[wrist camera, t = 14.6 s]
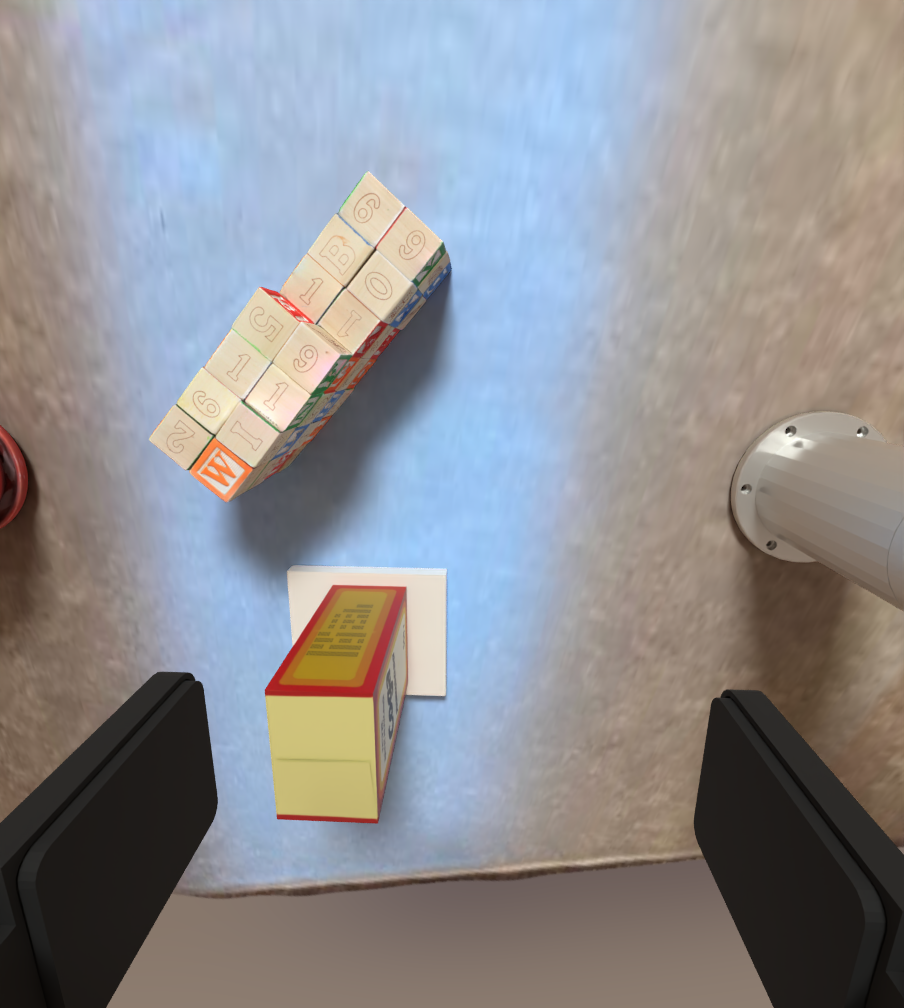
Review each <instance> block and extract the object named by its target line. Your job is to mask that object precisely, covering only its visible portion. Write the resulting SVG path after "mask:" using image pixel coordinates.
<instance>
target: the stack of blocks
mask: <svg viewBox="0 0 904 1008" xmlns="http://www.w3.org/2000/svg"><path fill="white" fill-rule="evenodd" d="M451 269H452V268H451V263H450V258H449V255H448V252H447V251H446V248H445V246H444V243H443V241H442V240H441V239H440V238H439V237H437V236H436V235H435V234H434V233H433V232H432V231H431V230H430V229H429V228H428V227H427V226H426V225H425V224H424V223H423V222H422V221H421V220H420V219H419V218H418V217H417V216H416V215H415V214H413V213H412V212H411V211H410V210H409V209H408V208H406V207H405V206H404V205H403V204H402V203H401V202H400V201H399V200H398V199H397V198H396V197H395V196H394V195H393V194H392V193H391V192H390V191H389V190H388V189H386V188H385V187H384V186H383V185H382V184H381V183H380V182H379V181H378V180H377V179H376V178H375V177H374V176H373V175H372V174H371V173H370V172H369V171H367V172H366V173H365V174H364V175H363V177H362V178H361V180H360V181H359V183H358V184H357V185H356V187H355V188H354V190H353V191H352V192H351V194H350V195H349V196H348V198H347V199H346V201H345V202H344V204H343V205H342V207H341V208H340V210H339V212H338V213H337V214H335V215H334V216H333V217H332V219H331V220H330V221H329V223H328V224H327V226H326V227H325V228H324V230H323V231H322V233H321V234H320V235H319V237H318V238H317V240H316V241H315V242H314V244H313V245H312V246H311V248H310V249H309V251H308V253H307V254H306V255H305V256H304V257H303V258H302V260H301V261H300V262H299V264H298V265H297V267H296V268H295V269H294V271H293V272H292V274H291V275H290V277H289V278H288V280H287V281H286V282H285V284H284V285H283V287H282V289H281V291H280V294H279V293H278V292H276V291H272V290H269V289H266V288H263V287H259V288H258V289H257V291H256V292H255V294H254V295H253V296H252V298H251V299H250V301H249V302H248V304H247V305H246V307H245V308H244V309H243V311H242V312H241V314H240V315H239V316H238V318H237V319H236V321H235V322H234V323H233V325H232V329H231V330H230V332H229V333H228V334H227V335H226V337H225V338H224V339H223V341H222V342H221V344H220V345H219V347H218V348H217V350H216V351H215V352H214V354H213V355H212V356H211V358H210V359H209V361H208V362H207V364H206V366H205V367H202V368H201V369H200V371H199V372H198V373H197V375H196V376H195V377H194V379H193V380H192V382H191V383H190V384H189V386H188V387H187V389H186V390H185V391H184V393H183V394H182V395H181V397H180V398H179V400H178V401H177V404H176V405H174V406H173V407H172V408H171V409H170V411H169V412H168V413H167V415H166V416H165V417H164V419H163V420H162V421H161V423H160V424H159V425H158V427H157V428H156V429H155V431H154V432H153V434H152V435H151V436H150V438H149V440H150V442H152V443H153V444H154V445H155V446H157V447H158V448H159V449H160V450H161V451H163V452H164V453H165V454H166V455H168V456H169V457H170V458H171V459H172V460H174V461H175V462H176V463H177V464H178V465H179V466H181V467H182V468H183V469H184V470H190V471H189V472H190V474H191V475H192V476H193V477H194V478H196V479H197V480H198V481H200V482H201V483H202V484H203V485H204V486H206V487H207V488H208V489H209V490H211V491H212V492H213V493H215V494H216V495H217V496H218V497H220V498H221V499H222V500H224V501H225V502H230V501H231V500H233V499H234V498H236V497H238V496H239V495H241V494H242V493H244V492H245V491H248V490H250V489H252V488H253V487H255V486H257V485H259V484H260V483H262V482H263V480H265V479H267V478H269V477H270V476H272V475H273V474H275V473H279V472H280V471H282V470H284V469H285V468H287V467H288V466H289V465H290V464H291V463H292V462H293V461H294V459H295V458H296V457H297V456H298V455H299V454H300V452H301V451H302V450H303V449H304V448H305V446H306V445H307V444H308V443H309V442H310V441H312V440H313V438H314V437H315V436H316V435H317V434H318V432H319V431H320V430H321V429H322V427H323V426H324V425H325V424H326V423H327V421H328V420H329V419H330V418H331V417H332V415H333V414H334V413H335V412H336V411H337V410H338V409H339V407H340V406H341V405H342V404H343V403H344V401H345V400H346V399H347V398H348V396H349V395H350V394H351V393H352V392H353V390H354V389H355V385H356V384H357V383H358V382H359V381H360V380H361V378H362V377H363V376H364V375H365V374H366V372H367V371H368V370H369V369H370V367H371V366H372V365H373V364H374V363H375V361H376V360H377V358H378V356H379V355H380V354H381V353H382V352H383V351H384V349H385V348H386V347H387V346H388V345H389V343H390V342H391V341H392V340H393V339H394V337H395V336H396V335H397V334H398V332H399V331H400V330H403V329H404V328H405V326H406V325H407V324H408V323H409V322H410V320H411V319H412V318H413V317H414V316H415V314H416V313H417V312H418V311H419V310H420V308H421V307H422V306H423V305H424V303H425V302H426V300H427V299H428V298H429V296H430V295H431V294H432V293H433V292H434V290H435V289H436V288H437V287H438V286H439V284H440V283H441V282H442V281H443V279H444V278H445V277H446V276H447V275H448V273H449V272H450V271H451Z"/></svg>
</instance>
